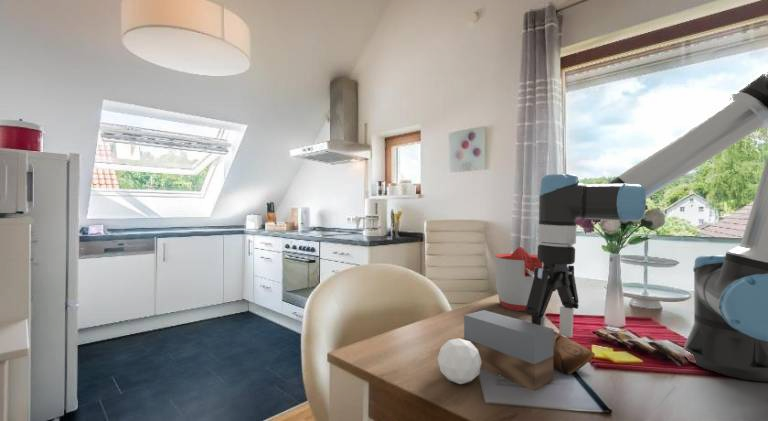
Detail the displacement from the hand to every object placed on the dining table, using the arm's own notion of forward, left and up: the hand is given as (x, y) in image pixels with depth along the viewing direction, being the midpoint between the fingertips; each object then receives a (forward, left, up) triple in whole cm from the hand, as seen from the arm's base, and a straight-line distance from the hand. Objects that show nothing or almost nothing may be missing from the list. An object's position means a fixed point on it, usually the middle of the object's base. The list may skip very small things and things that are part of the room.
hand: (552, 341), depth 80 cm
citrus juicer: (+24, -30, -3) cm, 39 cm away
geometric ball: (+5, +26, -3) cm, 27 cm away
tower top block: (+2, +15, +2) cm, 15 cm away
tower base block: (+2, +15, -3) cm, 15 cm away
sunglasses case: (-1, -1, -2) cm, 3 cm away
